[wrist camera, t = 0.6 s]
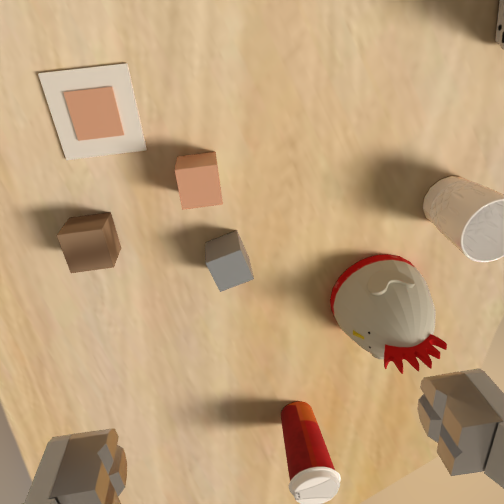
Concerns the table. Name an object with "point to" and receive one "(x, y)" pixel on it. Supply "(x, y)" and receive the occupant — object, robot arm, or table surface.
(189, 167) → the salmon orange block
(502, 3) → the stereo radio cassette player
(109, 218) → the walnut block
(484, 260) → the white cup
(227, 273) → the grey block
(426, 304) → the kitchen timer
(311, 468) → the paper cup
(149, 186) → the table surface
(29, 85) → the table surface
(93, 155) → the tile
